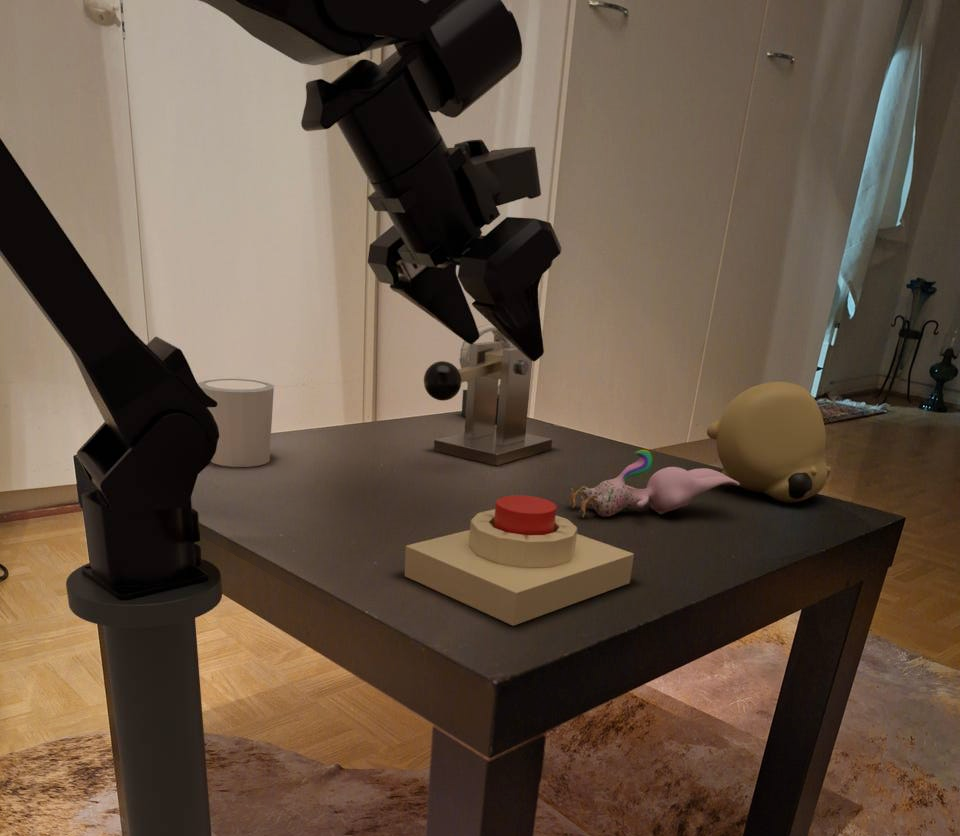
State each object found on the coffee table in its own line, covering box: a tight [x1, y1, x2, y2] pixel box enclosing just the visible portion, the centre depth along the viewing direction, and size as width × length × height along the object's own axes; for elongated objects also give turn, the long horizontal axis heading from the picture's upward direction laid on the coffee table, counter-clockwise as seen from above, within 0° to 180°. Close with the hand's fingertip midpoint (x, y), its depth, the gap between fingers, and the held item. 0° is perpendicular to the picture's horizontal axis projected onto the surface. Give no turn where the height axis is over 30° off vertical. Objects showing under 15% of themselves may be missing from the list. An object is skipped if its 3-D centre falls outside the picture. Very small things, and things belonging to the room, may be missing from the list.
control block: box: [404, 508, 635, 627], centre depth 58 cm, size 12×10×4 cm
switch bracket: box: [433, 341, 553, 467], centre depth 91 cm, size 11×8×11 cm
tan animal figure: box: [706, 381, 832, 504], centre depth 84 cm, size 10×12×11 cm
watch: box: [458, 324, 516, 425], centre depth 107 cm, size 6×8×11 cm
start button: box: [494, 494, 557, 535], centre depth 57 cm, size 4×4×2 cm
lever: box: [423, 349, 503, 402], centre depth 86 cm, size 13×4×4 cm, turn 145°
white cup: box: [197, 378, 275, 468], centre depth 81 cm, size 7×7×7 cm
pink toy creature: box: [569, 449, 740, 519], centre depth 75 cm, size 6×6×15 cm
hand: (505, 348), depth 69 cm, fingers open, 9 cm apart
